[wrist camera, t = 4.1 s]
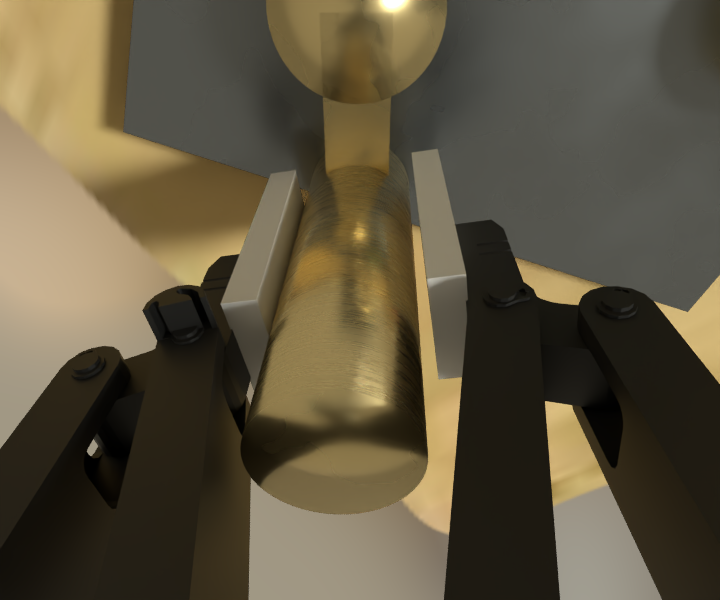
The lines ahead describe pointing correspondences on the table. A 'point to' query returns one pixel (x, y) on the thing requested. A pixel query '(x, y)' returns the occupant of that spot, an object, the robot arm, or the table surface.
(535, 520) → the robot arm
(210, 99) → the levelling plate
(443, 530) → the table surface
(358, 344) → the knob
